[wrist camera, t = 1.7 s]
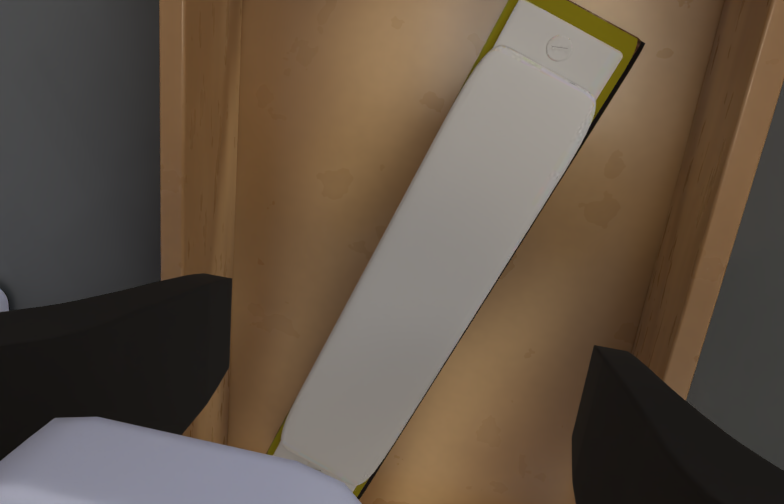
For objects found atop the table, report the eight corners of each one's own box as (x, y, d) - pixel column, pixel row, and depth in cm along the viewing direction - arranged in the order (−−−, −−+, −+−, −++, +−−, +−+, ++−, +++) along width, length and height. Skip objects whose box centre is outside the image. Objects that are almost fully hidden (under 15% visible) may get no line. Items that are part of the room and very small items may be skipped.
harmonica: (362, 488, 20) (346, 535, 18) (275, 439, 20) (250, 481, 18) (641, 43, 15) (658, 44, 13) (521, -22, 15) (521, -31, 13)
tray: (213, 502, 22) (161, 582, 19) (231, -156, 15) (156, -206, 12) (585, 589, 20) (597, 693, 17) (778, -109, 14) (856, -153, 10)
